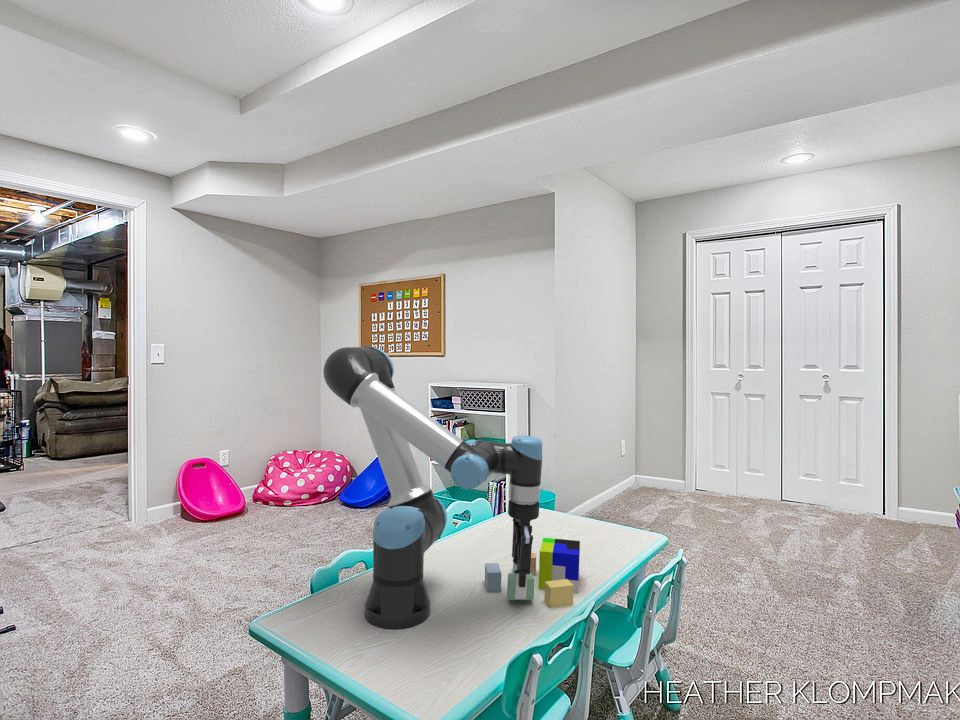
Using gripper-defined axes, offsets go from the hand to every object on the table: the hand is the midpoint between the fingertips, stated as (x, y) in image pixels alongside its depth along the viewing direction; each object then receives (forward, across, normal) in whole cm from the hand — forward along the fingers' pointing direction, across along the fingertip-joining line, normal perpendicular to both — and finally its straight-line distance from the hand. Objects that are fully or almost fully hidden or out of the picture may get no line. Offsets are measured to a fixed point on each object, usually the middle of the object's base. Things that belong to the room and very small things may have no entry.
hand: (518, 593), depth 136 cm
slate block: (+2, +9, +5) cm, 10 cm away
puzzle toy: (+2, +10, -13) cm, 16 cm away
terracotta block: (+2, +17, -5) cm, 18 cm away
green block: (+1, 0, 0) cm, 1 cm away
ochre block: (+2, -1, -10) cm, 10 cm away
